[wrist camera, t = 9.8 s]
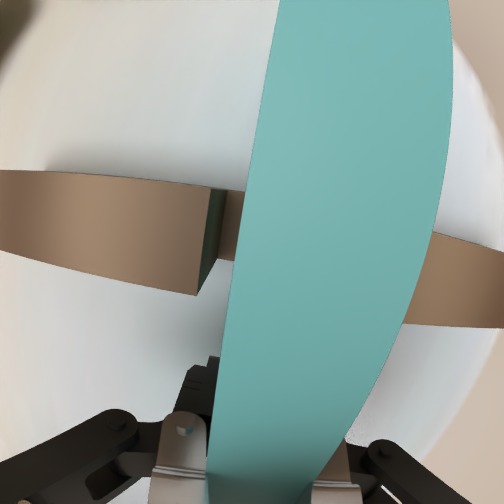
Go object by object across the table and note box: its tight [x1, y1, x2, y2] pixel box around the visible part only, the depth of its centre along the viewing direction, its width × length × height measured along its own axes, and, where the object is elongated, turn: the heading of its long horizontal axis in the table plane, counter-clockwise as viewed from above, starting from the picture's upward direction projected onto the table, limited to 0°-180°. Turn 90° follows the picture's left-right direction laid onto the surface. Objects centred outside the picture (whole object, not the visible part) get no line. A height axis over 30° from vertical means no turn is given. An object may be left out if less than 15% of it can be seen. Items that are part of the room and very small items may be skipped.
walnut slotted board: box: [0, 170, 504, 328], centre depth 10 cm, size 28×2×8 cm, turn 81°
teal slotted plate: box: [205, 0, 453, 504], centre depth 9 cm, size 20×2×10 cm, turn 171°
